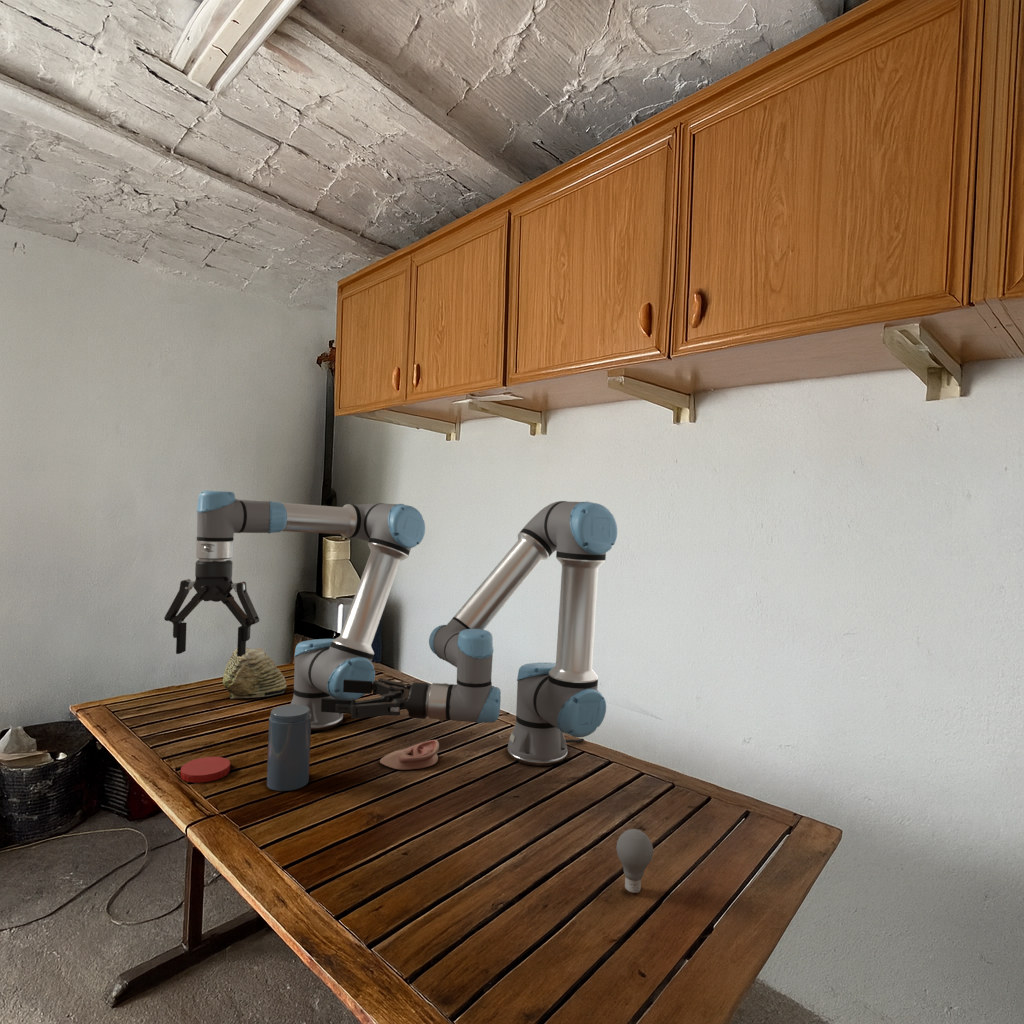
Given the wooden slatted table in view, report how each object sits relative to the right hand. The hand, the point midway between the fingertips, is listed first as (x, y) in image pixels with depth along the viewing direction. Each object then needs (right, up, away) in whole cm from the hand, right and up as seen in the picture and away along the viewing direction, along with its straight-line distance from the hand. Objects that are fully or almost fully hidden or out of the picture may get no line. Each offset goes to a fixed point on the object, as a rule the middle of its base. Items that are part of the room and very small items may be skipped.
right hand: (333, 694), depth 139 cm
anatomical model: (+14, -20, +15) cm, 29 cm away
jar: (-10, -20, +1) cm, 22 cm away
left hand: (-28, +8, +4) cm, 30 cm away
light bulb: (+59, -23, -33) cm, 72 cm away
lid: (-30, -17, +4) cm, 35 cm away
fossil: (-41, -17, +59) cm, 74 cm away
